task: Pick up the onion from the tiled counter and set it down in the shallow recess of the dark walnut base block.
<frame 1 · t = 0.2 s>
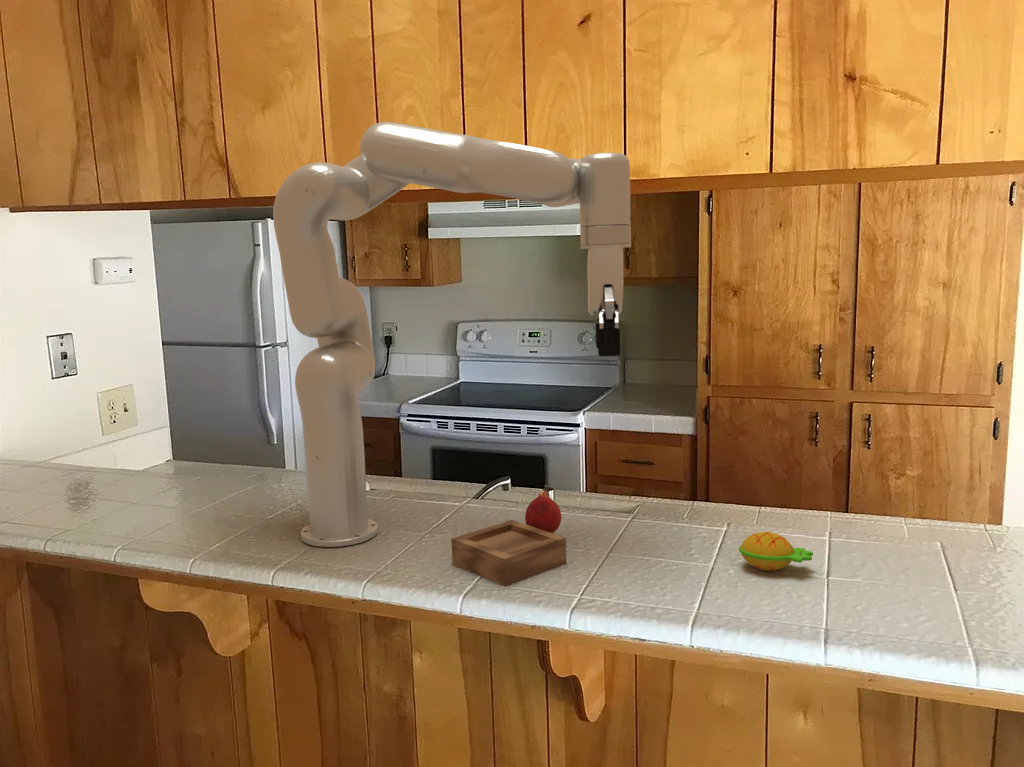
hand: (607, 351, 129), 30 cm above the counter, tool pointing down, fingers open, 9 cm apart
base: (509, 563, 125), on the counter
onion: (543, 540, 136), on the counter
toy pineapple: (774, 571, 120), on the counter
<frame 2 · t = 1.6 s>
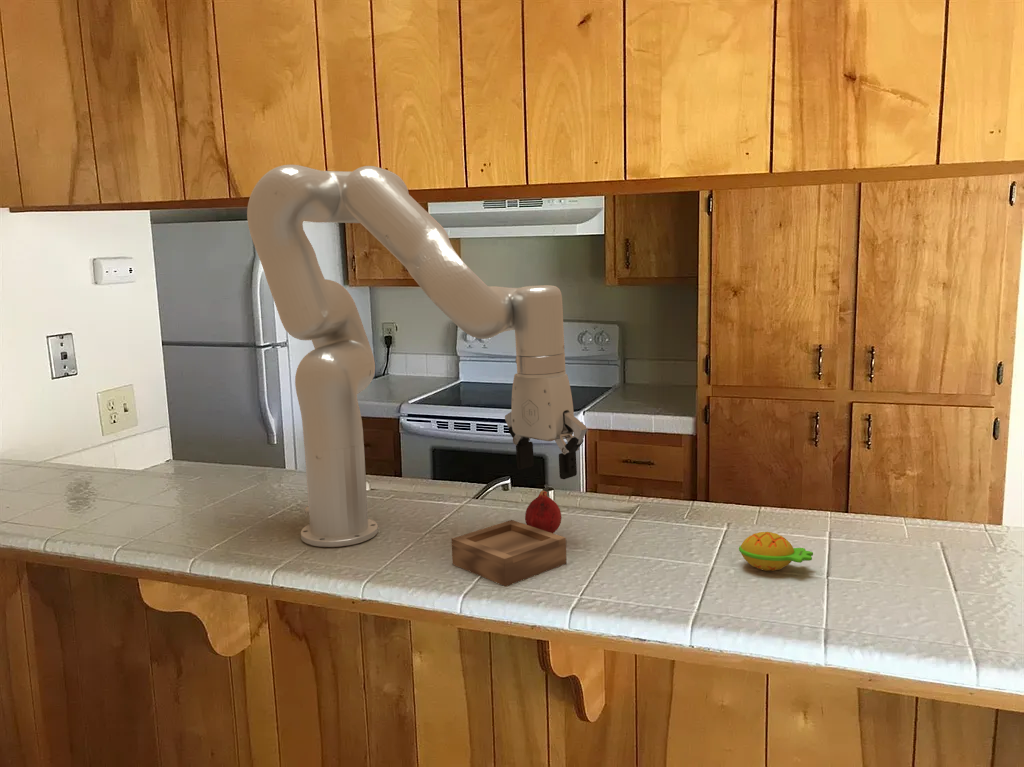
hand: (546, 472, 134), 11 cm above the counter, tool pointing down, fingers open, 9 cm apart
nothing on the counter moved.
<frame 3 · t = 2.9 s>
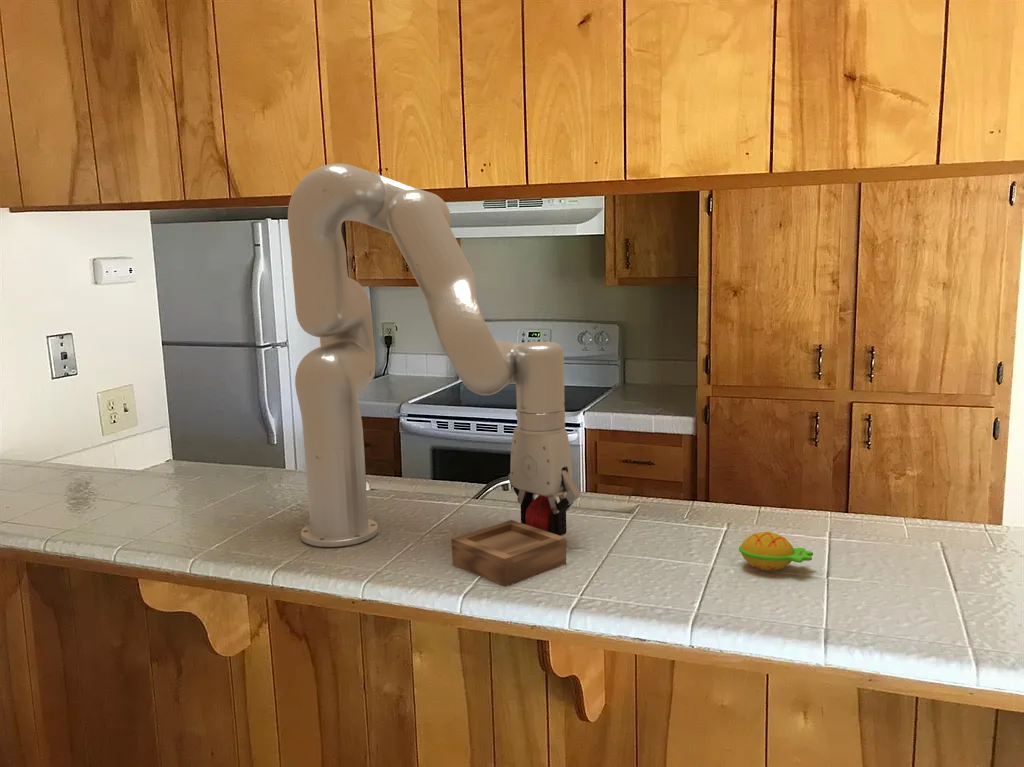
hand: (543, 529, 135), 2 cm above the counter, tool pointing down, fingers closed on onion, 5 cm apart
onion: (543, 540, 136), on the counter, touching gripper
everything else where it was.
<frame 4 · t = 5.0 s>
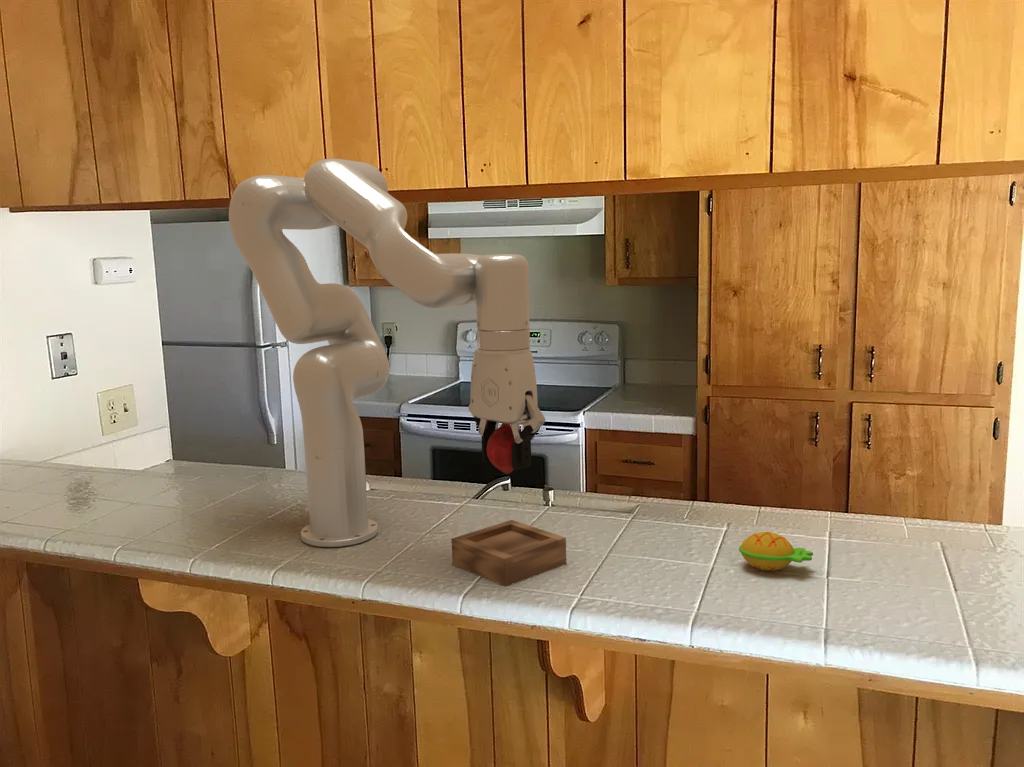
hand: (506, 463, 123), 15 cm above the counter, tool pointing down, fingers closed on onion, 5 cm apart
onion: (507, 474, 124), point 14 cm above the counter, touching gripper
everything else where it was.
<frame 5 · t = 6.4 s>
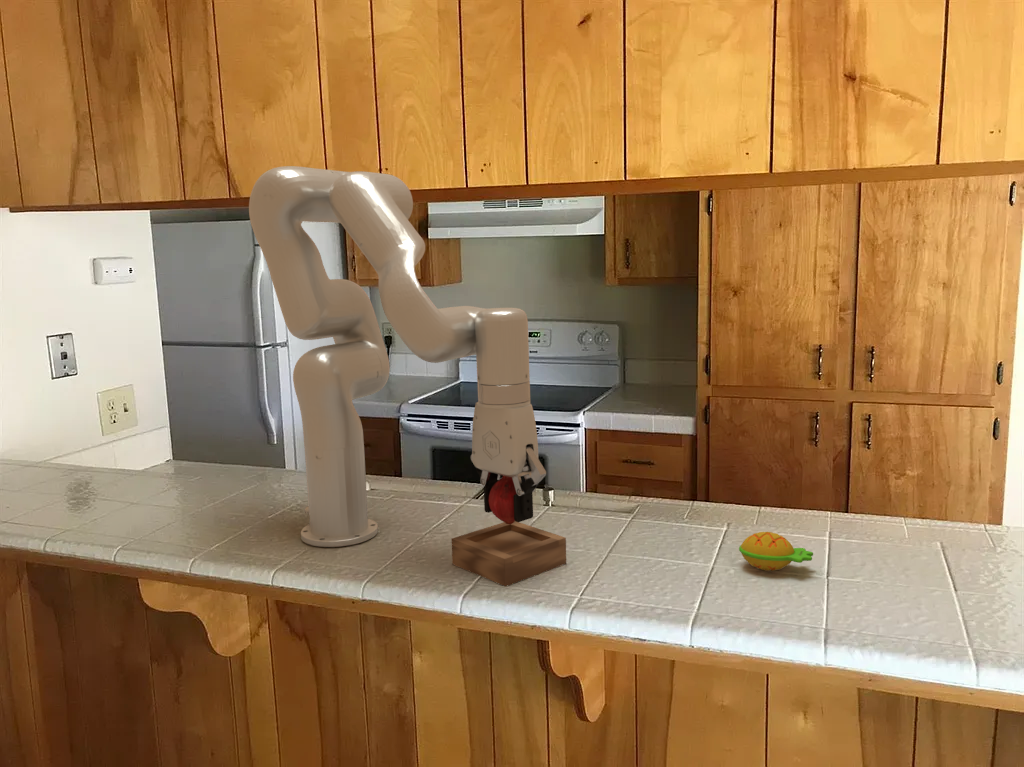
hand: (508, 513, 124), 8 cm above the counter, tool pointing down, fingers closed on onion, 5 cm apart
onion: (509, 525, 124), point 6 cm above the counter, touching gripper
everything else where it was.
when the fingers open (5 cm above the counter, at t = 7.3 s): onion stays where it is, resting on base.
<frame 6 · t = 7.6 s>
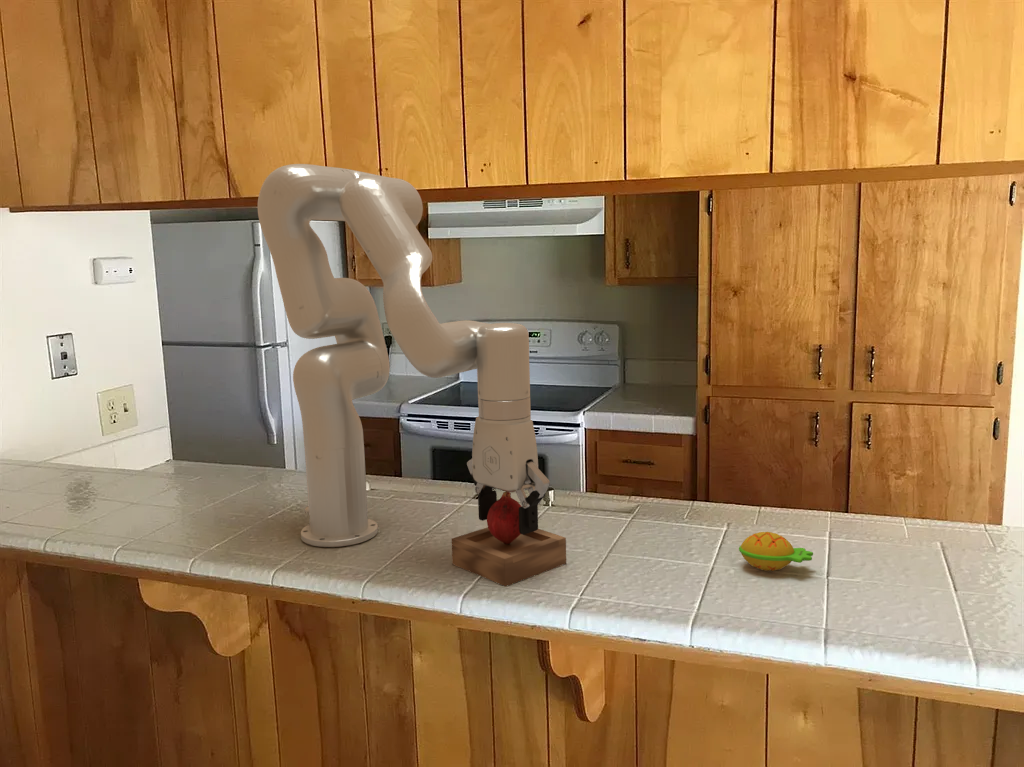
hand: (507, 524, 124), 6 cm above the counter, tool pointing down, fingers open, 8 cm apart
onion: (507, 545, 125), point 3 cm above the counter, touching base
everything else where it was.
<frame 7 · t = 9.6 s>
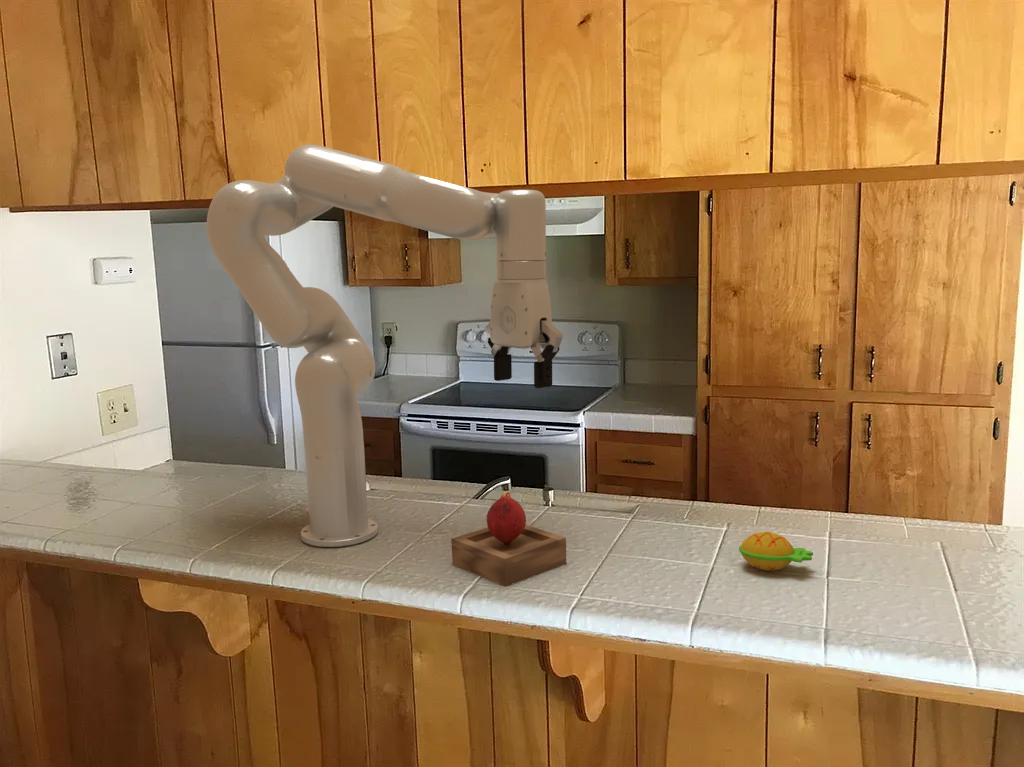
hand: (522, 383, 132), 25 cm above the counter, tool pointing down, fingers open, 9 cm apart
nothing on the counter moved.
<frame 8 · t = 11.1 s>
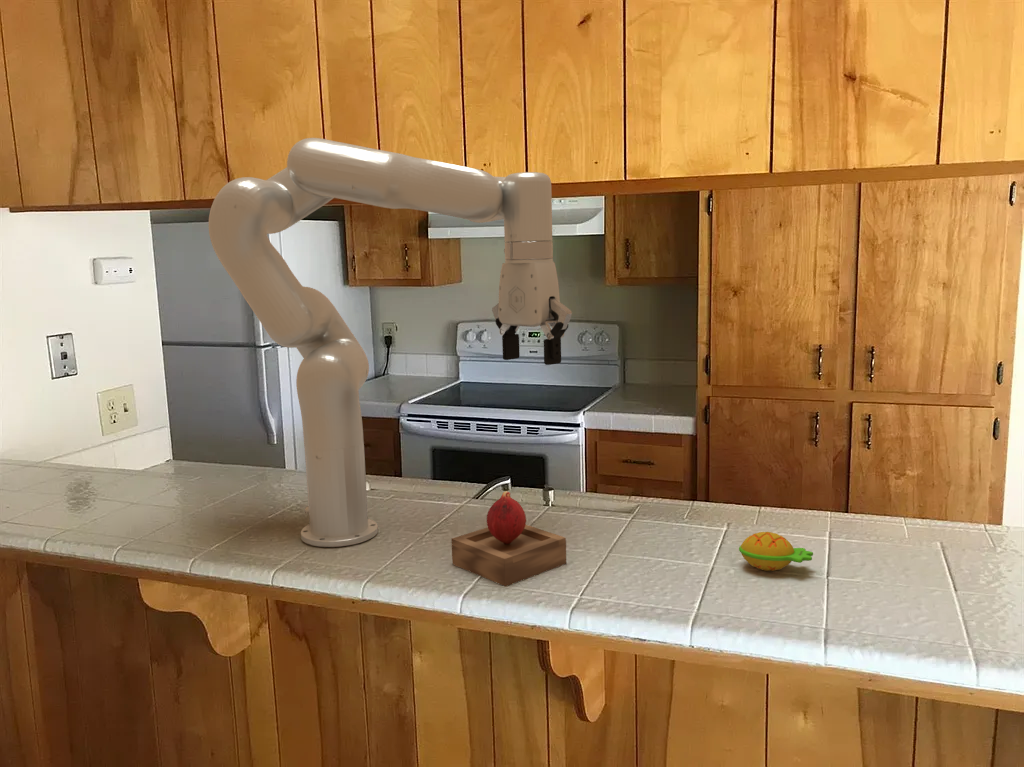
hand: (531, 361, 135), 28 cm above the counter, tool pointing down, fingers open, 9 cm apart
nothing on the counter moved.
at the end: onion 0.3 cm from the base (horizontally); onion touching base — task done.
